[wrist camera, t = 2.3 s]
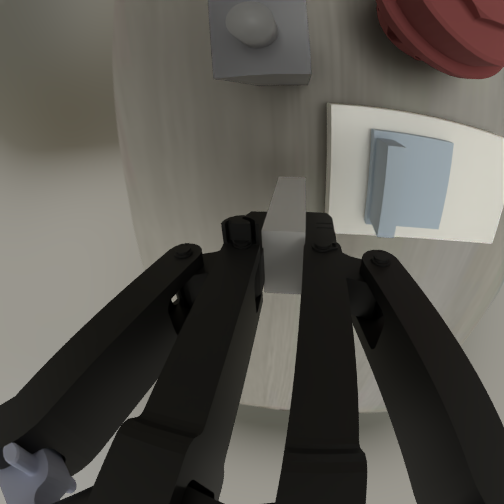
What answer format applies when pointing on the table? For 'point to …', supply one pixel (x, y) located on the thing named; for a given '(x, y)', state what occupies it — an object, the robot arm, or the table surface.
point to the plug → (260, 41)
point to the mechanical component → (448, 33)
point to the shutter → (406, 181)
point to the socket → (460, 180)
